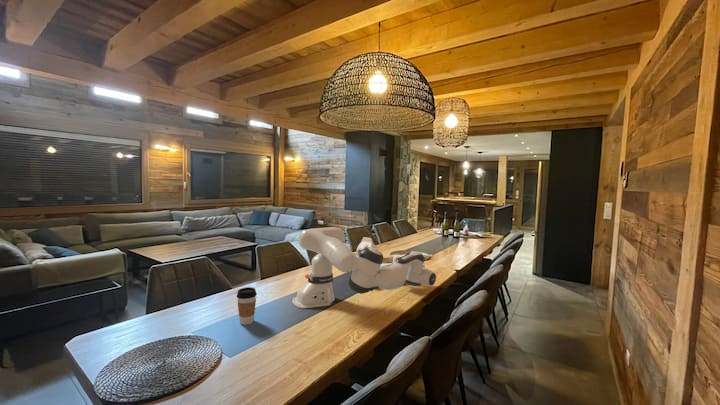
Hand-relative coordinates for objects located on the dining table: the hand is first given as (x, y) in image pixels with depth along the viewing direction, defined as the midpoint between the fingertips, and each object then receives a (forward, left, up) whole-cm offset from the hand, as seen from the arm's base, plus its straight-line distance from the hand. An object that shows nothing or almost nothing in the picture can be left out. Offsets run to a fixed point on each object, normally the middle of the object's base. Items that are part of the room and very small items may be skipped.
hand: (399, 265), depth 192 cm
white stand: (0, +3, -8) cm, 9 cm away
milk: (-11, +22, -11) cm, 27 cm away
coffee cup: (-95, -10, -11) cm, 96 cm away
